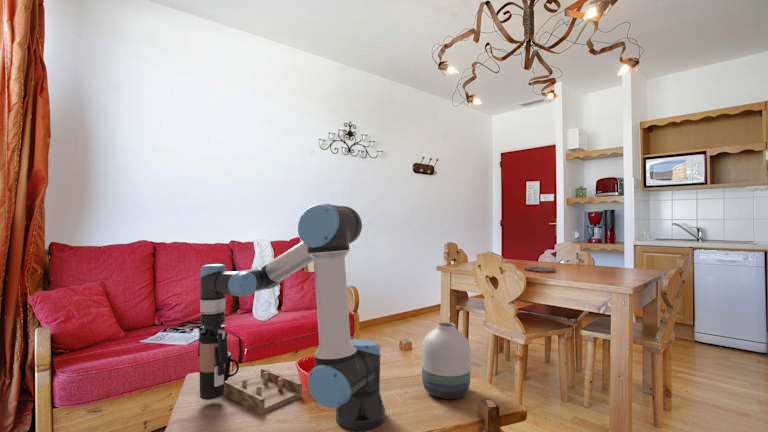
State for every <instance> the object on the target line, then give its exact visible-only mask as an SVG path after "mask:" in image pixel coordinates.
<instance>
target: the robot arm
mask: <svg viewBox="0 0 768 432" xmlns="http://www.w3.org/2000/svg"><path fill="white" fill-rule="evenodd" d="M362 229H363V222H362V218H361V216H360V214H359V213H358V212H357V211H356V210H355V209H353V208H352V207H349V206H345V205H336V204H329V203H320V204H318V203H317V204H313V205H311V206H310V207H307V208H306V209H305V210H304V212H303V213H302V214H301V216H300V217H299V221H298V224H297V232H298V237H299V239H300V240H301V241H300V242H299V243H298V244H296V245H294V246H293V247H292V248H289V249H288V250H286V251H285V252H283V253H282V254H279V256H277V257H276V258H274V259H273V260H270V261H269V262H267V263H266V264H264V265H263V266H261V267H259V268H253V269H245V270H238V271H236V270H235V271H229V270H227V268H226V265H225V264H221V263H211V264H205V265H204V264H203V265H202V266H201V267H200V277H199V279H200V281H199V283H200V284H199V285H200V286H199V287H200V293H199V294H200V300H199V311H200V312H201V313H200V314H199V317H200V318H199V324H200V325H201V326H199V327H198V343H197V344H198V346H197V356H198V357H200V334H201V333H203V332H204V336H207V335H208V336H217V338H218V347H215V361H216V365H214V386H215V387H216V386H219V385H222V384H224V364H226V363H228V352H229V351H228V332H227V331H225V332H223V331H224V330H223V328H222V325H223V324H225V322H226V311H225V310H226V303H227V302H226V296H234V297H249V296H251V295H252V294H253V293H256V292H258V291H264V290H270V289H273V288H276V287H278V286H279V285H280V284H281V282H282V281H283V280H285V279H286V278H288V277H289V276H291V275H293V274H294V273H296V272H298V271H300V270H301V269H303V268H305V267H306V266H308V265H310V264H311V263H313V270H314V282H315V297H316V298H315V299H316V313H317V314H316V315H317V327H318V329H317V330H318V344H319V345H318V348H317V350H316V351H315V352H314V354H313V355H314V357H313V358H314V367H313V368H311V371H310V372H309V373H308V376H307V388H308V391H309V394H310V395H311V397H312V398H313V400H315V401H316V403H317V404H318V405H320V406H322V407H324V408H327V409H335V421H336V423H337V425H339V426H341V427H342V428H345V429H347V430H353V431H368V430H372V429H374V428H377V427H379V426H381V425H382V424H383V423H384V422H385V420H386V409H385V405H384V404H383V403H384V402H383V399H382V395H381V390H380V389H381V386H380V385H381V356H382V354H381V346H380V345H379V343H378V342H376V341H373V340H369V339H359V338H357V339H354V338H353V339H351V329H350V328H351V327H350V316H349V315H350V314H349V303H348V302H349V301H348V285H347V276H346V275H347V273H346V272H347V271H346V260H345V257H346V255H348V253H349V252H350V244H352V243H354V242H355V241H356V240H357V239H358V238H359V237H360V235H361V232H362Z"/></svg>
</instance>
